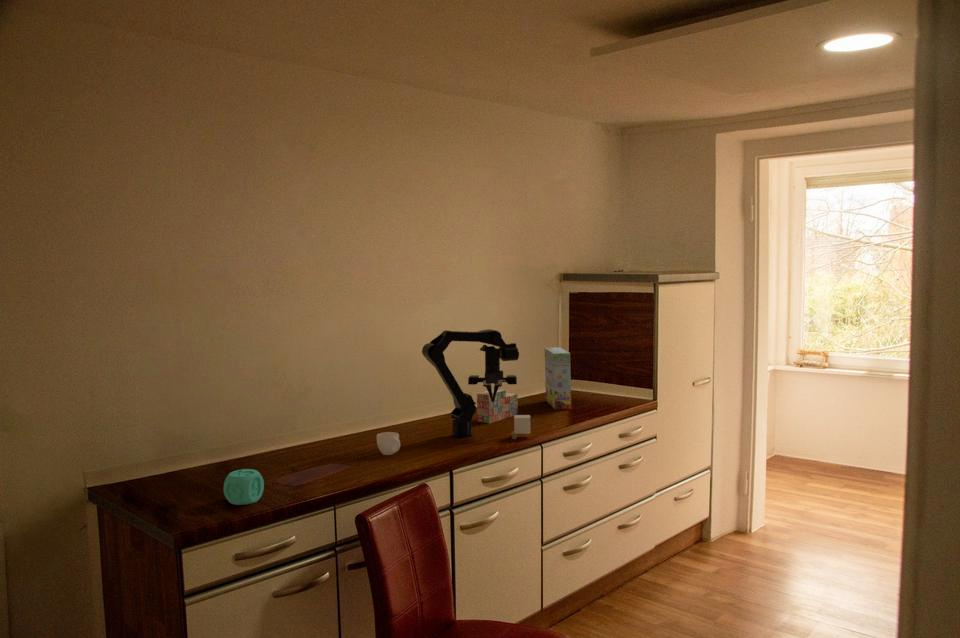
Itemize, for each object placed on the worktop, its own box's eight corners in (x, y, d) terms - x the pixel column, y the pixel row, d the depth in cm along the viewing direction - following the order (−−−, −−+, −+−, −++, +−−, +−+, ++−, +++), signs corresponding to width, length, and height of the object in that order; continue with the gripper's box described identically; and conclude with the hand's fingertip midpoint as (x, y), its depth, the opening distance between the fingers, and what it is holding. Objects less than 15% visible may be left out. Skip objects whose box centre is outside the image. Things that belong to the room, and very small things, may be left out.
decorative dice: (240, 495, 215) (239, 468, 214) (264, 497, 213) (263, 470, 212) (223, 503, 207) (222, 475, 207) (248, 506, 205) (247, 477, 204)
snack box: (543, 401, 354) (543, 347, 352) (561, 400, 355) (561, 347, 353) (553, 410, 333) (553, 352, 331) (572, 409, 334) (572, 352, 332)
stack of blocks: (506, 413, 327) (505, 385, 326) (518, 415, 324) (517, 386, 323) (477, 422, 310) (476, 392, 309) (489, 423, 307) (488, 394, 306)
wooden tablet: (294, 489, 221) (294, 484, 221) (271, 484, 227) (271, 479, 227) (355, 468, 244) (355, 463, 244) (332, 464, 249) (332, 459, 249)
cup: (389, 449, 265) (389, 430, 265) (408, 454, 259) (407, 435, 258) (372, 453, 260) (372, 434, 259) (391, 458, 253) (390, 439, 252)
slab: (514, 433, 279) (514, 417, 279) (514, 430, 284) (514, 415, 284) (530, 433, 279) (530, 417, 279) (530, 430, 284) (530, 415, 284)
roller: (518, 436, 279) (513, 433, 279) (514, 440, 279) (510, 437, 279) (518, 433, 285) (513, 429, 285) (514, 437, 285) (510, 433, 285)
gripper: (467, 365, 281) (467, 405, 282) (516, 364, 280) (516, 405, 281) (468, 361, 292) (469, 400, 293) (516, 360, 291) (516, 400, 292)
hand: (492, 401), depth 290 cm, fingers closed
